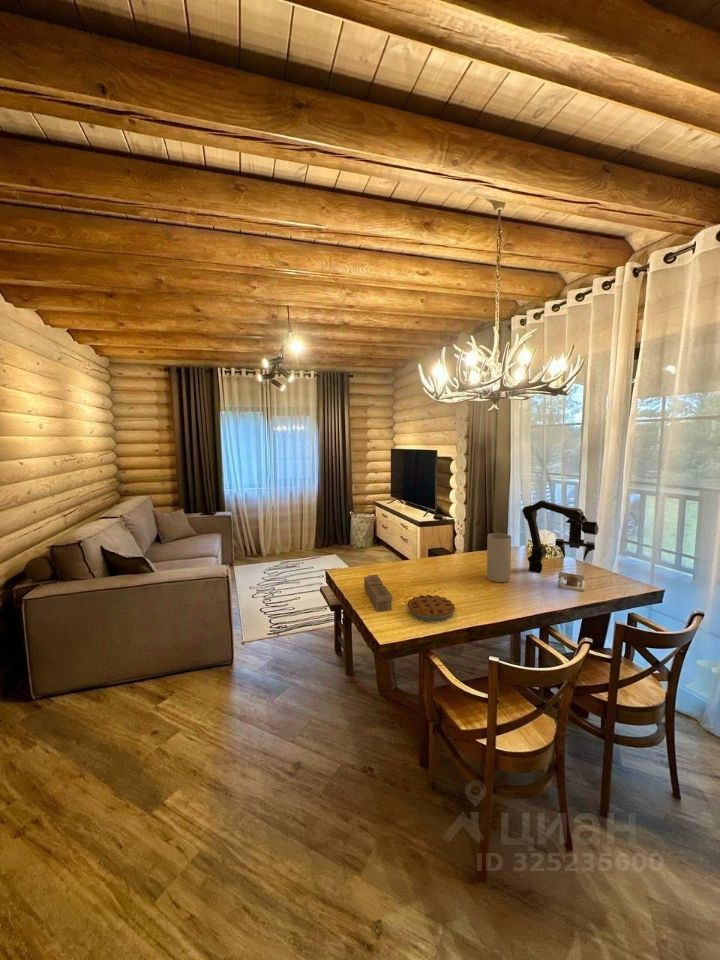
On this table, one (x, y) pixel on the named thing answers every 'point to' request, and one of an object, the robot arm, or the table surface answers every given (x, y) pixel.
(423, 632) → the table surface
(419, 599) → the pie
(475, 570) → the table surface
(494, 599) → the table surface
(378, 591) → the block tower
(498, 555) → the cylinder vase
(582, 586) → the light wooden flat tray
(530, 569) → the robot arm
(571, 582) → the block
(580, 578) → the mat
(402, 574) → the table surface
